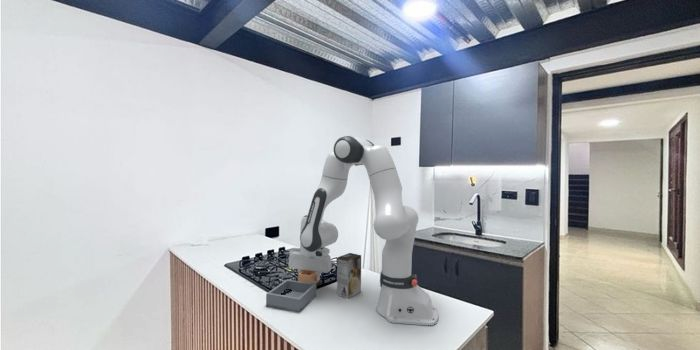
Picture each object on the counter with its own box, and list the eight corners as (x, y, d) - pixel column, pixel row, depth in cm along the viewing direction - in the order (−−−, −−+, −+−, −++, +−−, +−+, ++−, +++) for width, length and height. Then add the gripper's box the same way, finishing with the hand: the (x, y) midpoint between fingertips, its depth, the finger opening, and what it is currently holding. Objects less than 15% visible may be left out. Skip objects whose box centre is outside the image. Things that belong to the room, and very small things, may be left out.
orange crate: (319, 281, 133) (319, 268, 133) (310, 289, 124) (310, 275, 124) (308, 279, 135) (308, 266, 135) (298, 287, 126) (298, 274, 126)
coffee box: (349, 288, 126) (350, 252, 126) (361, 292, 122) (362, 255, 122) (336, 295, 119) (336, 257, 119) (348, 299, 115) (349, 260, 115)
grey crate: (316, 296, 118) (316, 284, 118) (299, 313, 103) (299, 299, 103) (286, 291, 122) (286, 279, 122) (266, 306, 107) (266, 293, 107)
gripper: (286, 249, 129) (285, 279, 130) (327, 253, 123) (327, 285, 123) (292, 245, 135) (292, 274, 136) (333, 250, 129) (332, 280, 129)
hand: (309, 279), depth 129 cm, fingers closed on orange crate, 6 cm apart
